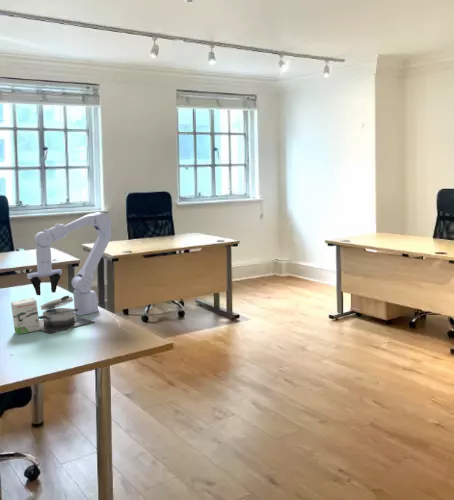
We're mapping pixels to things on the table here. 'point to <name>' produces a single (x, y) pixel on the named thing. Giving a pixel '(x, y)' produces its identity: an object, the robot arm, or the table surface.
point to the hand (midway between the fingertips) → (46, 293)
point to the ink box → (25, 316)
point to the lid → (57, 303)
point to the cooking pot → (61, 320)
